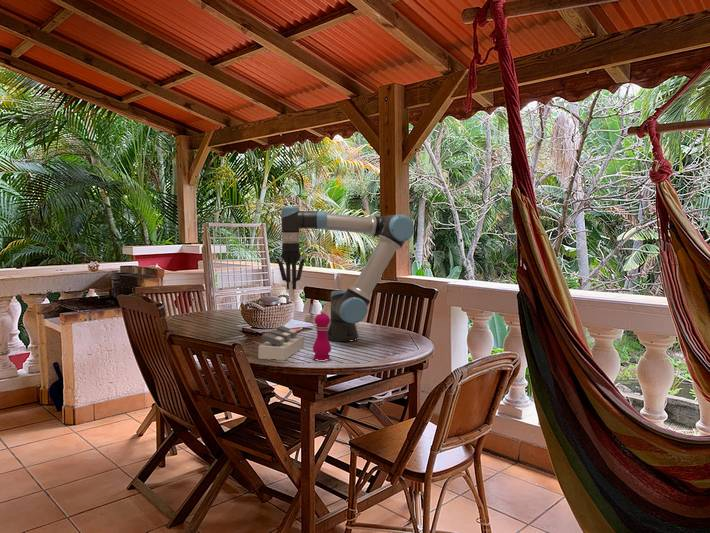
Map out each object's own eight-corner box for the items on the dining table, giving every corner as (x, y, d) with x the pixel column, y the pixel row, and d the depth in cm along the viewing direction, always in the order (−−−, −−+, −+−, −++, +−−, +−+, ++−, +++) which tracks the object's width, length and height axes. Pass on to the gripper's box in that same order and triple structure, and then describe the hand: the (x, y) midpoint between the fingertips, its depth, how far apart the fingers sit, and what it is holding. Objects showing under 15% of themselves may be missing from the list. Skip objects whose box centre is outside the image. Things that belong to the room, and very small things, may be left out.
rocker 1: (283, 343, 220) (284, 338, 220) (279, 345, 215) (280, 340, 215) (265, 337, 222) (267, 331, 221) (260, 339, 217) (262, 334, 216)
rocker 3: (296, 335, 236) (297, 330, 235) (292, 338, 231) (294, 333, 230) (279, 329, 237) (281, 325, 237) (275, 332, 232) (276, 327, 232)
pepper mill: (330, 357, 220) (331, 308, 219) (330, 362, 213) (331, 311, 211) (313, 357, 220) (313, 308, 218) (312, 361, 213) (313, 311, 211)
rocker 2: (290, 338, 228) (291, 333, 228) (286, 341, 223) (287, 335, 223) (273, 334, 229) (274, 328, 229) (268, 336, 225) (269, 331, 224)
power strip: (308, 344, 243) (308, 331, 242) (284, 360, 214) (284, 345, 213) (284, 343, 245) (284, 330, 245) (258, 358, 216) (258, 343, 216)
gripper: (273, 242, 230) (274, 297, 232) (303, 242, 228) (304, 298, 230) (278, 242, 238) (279, 295, 240) (307, 242, 235) (308, 296, 237)
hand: (291, 296), depth 235 cm, fingers closed
